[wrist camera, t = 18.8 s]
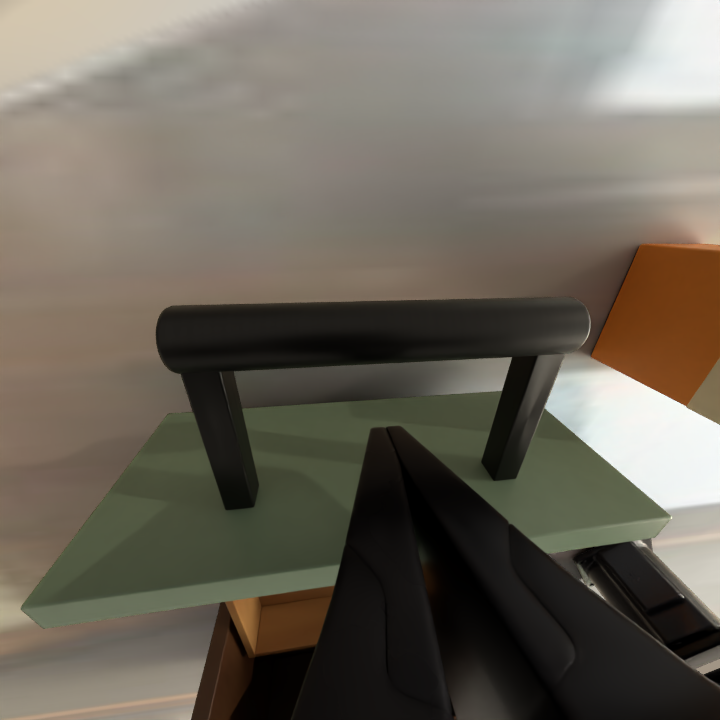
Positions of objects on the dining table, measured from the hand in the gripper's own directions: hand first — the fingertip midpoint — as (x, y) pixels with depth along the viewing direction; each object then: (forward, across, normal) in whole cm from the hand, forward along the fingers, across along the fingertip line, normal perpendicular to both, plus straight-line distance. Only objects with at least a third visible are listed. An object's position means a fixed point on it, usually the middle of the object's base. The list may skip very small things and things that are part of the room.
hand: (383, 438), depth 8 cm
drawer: (+4, 0, +7) cm, 8 cm away
